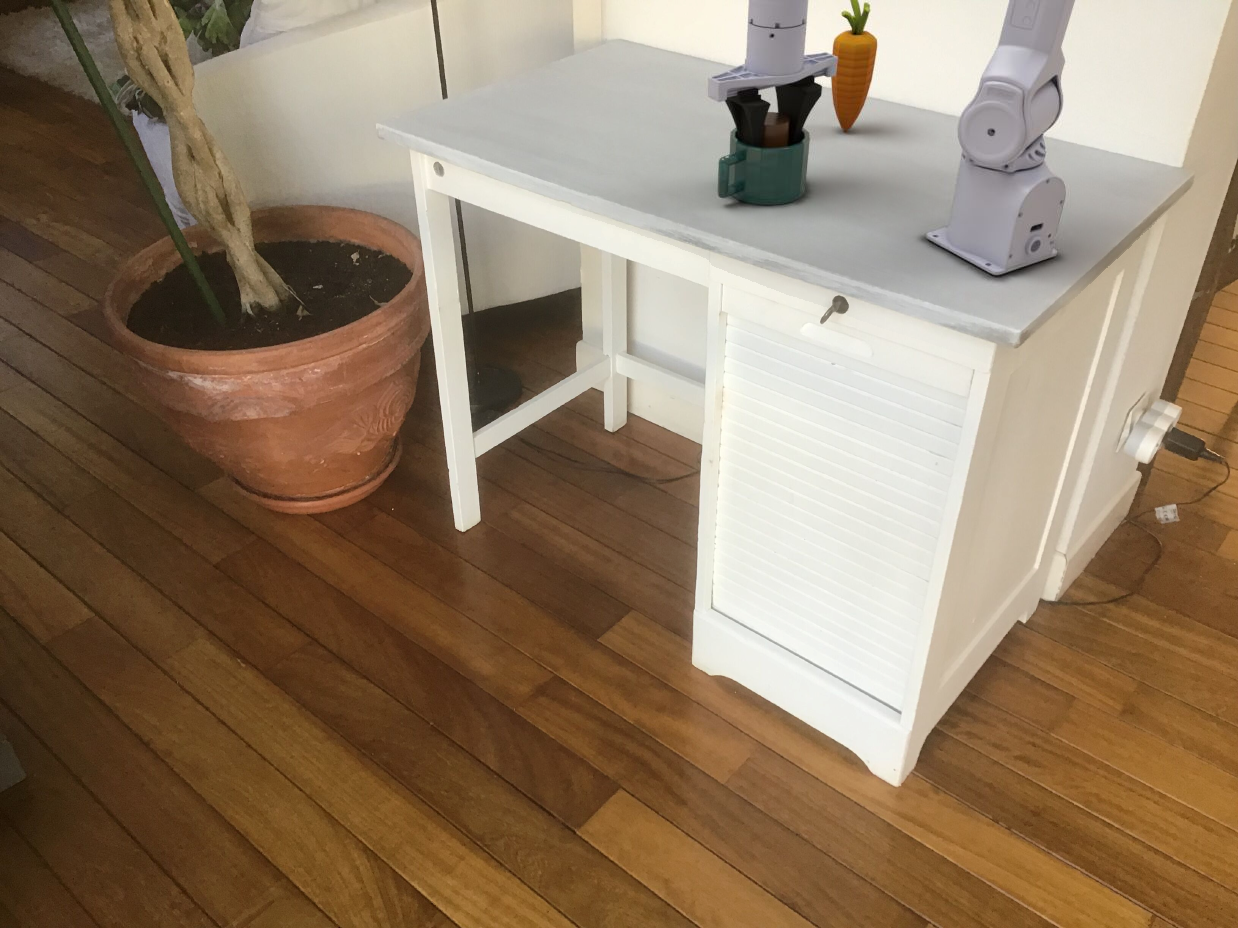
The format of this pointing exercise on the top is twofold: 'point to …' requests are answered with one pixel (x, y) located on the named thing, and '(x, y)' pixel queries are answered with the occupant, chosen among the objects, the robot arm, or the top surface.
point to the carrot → (853, 66)
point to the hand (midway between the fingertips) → (768, 156)
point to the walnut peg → (775, 130)
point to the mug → (764, 172)
